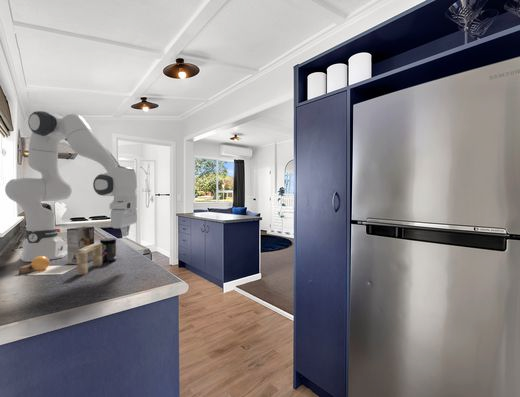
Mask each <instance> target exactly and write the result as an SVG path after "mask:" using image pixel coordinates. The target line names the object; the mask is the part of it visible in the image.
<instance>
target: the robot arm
mask: <svg viewBox="0 0 520 397" xmlns="http://www.w3.org/2000/svg"><path fill="white" fill-rule="evenodd" d="M27 123H28V127H29V129H30V131H31V134H30V138H29V143H28V144H29V145H28V153H27V155H28V156H27V164H28V166H29V167H30V168H31V169H32V170H34V171H36V172H38V173H40V174H41V178H38V177H37V178H35V177H23V178H22V177H21V178H12V179H10V180H9V181H8V182H7V183H6V185H5V188H4V191H5V195H6V196H7V197H8V199H10V200H11V201H13V202H14V203H17V204H18V205H19V206H20V207H21V209H22V211H23V213H24V216H25V225H26V226H25V229H26V230H25V232H24V238H25V240H24V241H23V243H22V253H21V256H20V257H19V260H22V262H26V263H27V262H31V263H32V261H33V259H34V258H36V257H38V256H45V257H47V258H48V259H49V261H50V260H56V259H63V258H64V257H66V256H68V254H67V243H66V242H67V241H65V240H63V239H62V238H61V237H60V236H58V235H59V233H61V231H62V230H61V228H56V214H55V212H54V211H53V210H51V209H49V208H46V207H44V206H43V205H42V202H57V201H62V200H67V199H69V198H70V197H71V195H72V191H73V188H72V185H71V184H70V183H69V181H67V180H66V179H65V178H63V176H62V174H61V173H60V170H59V166H58V165H59V159H58V158H59V145H60V142H61V141H62V140H65V142H67V143H68V145H69V147H70V148H71V149H72V150H73V151H74V152H75V153H76V154H77V155H78V156H81V157H84V158H87V159H89V160H92V161H94V162H96V163H97V164H100V166H102V167H103V169H105V170H106V172H105V173H101V174H98V175H97V176H95V178H94V180H93V183H92V184H93V185H92V186H93V190H94V192H95V193H96V194H97V195H99V196H102V197H113V200H112V201H111V203H110V204H109V205H108V206H109V210H110V225H111V227H112V229H120V231H121V236H122V238H123V237H124V238H126V237H128V236H129V235H130V234H129V232H130V228H131V225H135V224H137V221H138V214H137V207H138V206H137V205H138V204H137V202H138V200H137V192H136V191H137V186H138V185H137V183H138V182H137V173H136V170H135V169H134V168H133V167H130V166H126V165H125V166H124V165H120V164H119V162H118V161H117V159H116V158H115V157H114V155H113V154H112V153H111V152H110V151H109V150H108V148H106V147H105V145H103V143H102V142H101V141H100V140H99V138H98V137H97V135H96V134H95V132H94V130H93V129H92V127H91V126H90V125H89V123H87V121H86V120H85V119H84V118H83V117H82V116H81V115H79V114H76V113H70V114H66V115H64V114H60V113H54V112H47V111H42V110H39V111H34V112H32V113H31V114H30V115H29V116H28V122H27Z"/></svg>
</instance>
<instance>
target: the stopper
mask: <svg viewBox="0 0 520 397" xmlns="http://www.w3.org/2000/svg"><path fill="white" fill-rule="evenodd" d="M34 271H35V270H34V269H33V268H32V266H31V263H29V264H25V265H23V266H20V267H18V275H25V274H26V275H27V274H29V273H32V272H34Z"/></svg>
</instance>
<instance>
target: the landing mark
mask: <svg viewBox="0 0 520 397" xmlns="http://www.w3.org/2000/svg"><path fill="white" fill-rule="evenodd" d="M74 269H77V264H73V265H72V264H70V265H69V264H68V265H49V266H48V267H47V268H46V269H44V270H41V271H37V270H33V271H31V272H29V273H26V276H49V275H50V276H51V275H52V276H53V275H57V276H58V275H64V274H66V273H68V272H70V271H72V270H74Z"/></svg>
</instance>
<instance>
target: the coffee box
mask: <svg viewBox="0 0 520 397" xmlns="http://www.w3.org/2000/svg"><path fill="white" fill-rule="evenodd" d="M66 236H67V237H66V240H67V241H66V242H67V243H66V250H67V254H68V255H67V264H68V265H69V264H70V265H72V264H73V265H77V250H79V249H82V248H84V247H87V246H89V245H92V244H95V226H78V227H77V226H76V227H69V228H66ZM91 261H93V250H91V251H89V252H88V262H91Z"/></svg>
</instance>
